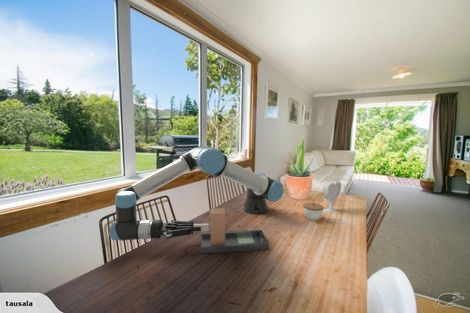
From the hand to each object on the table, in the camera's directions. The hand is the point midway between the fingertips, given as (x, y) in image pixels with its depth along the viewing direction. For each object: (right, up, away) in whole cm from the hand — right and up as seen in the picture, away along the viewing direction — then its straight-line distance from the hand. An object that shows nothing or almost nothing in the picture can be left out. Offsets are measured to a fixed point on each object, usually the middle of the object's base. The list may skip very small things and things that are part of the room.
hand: (208, 227), depth 92 cm
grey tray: (+11, -8, +2) cm, 13 cm away
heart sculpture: (+73, -4, +46) cm, 86 cm away
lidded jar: (+56, -6, +31) cm, 64 cm away
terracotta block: (+4, -7, +1) cm, 8 cm away
